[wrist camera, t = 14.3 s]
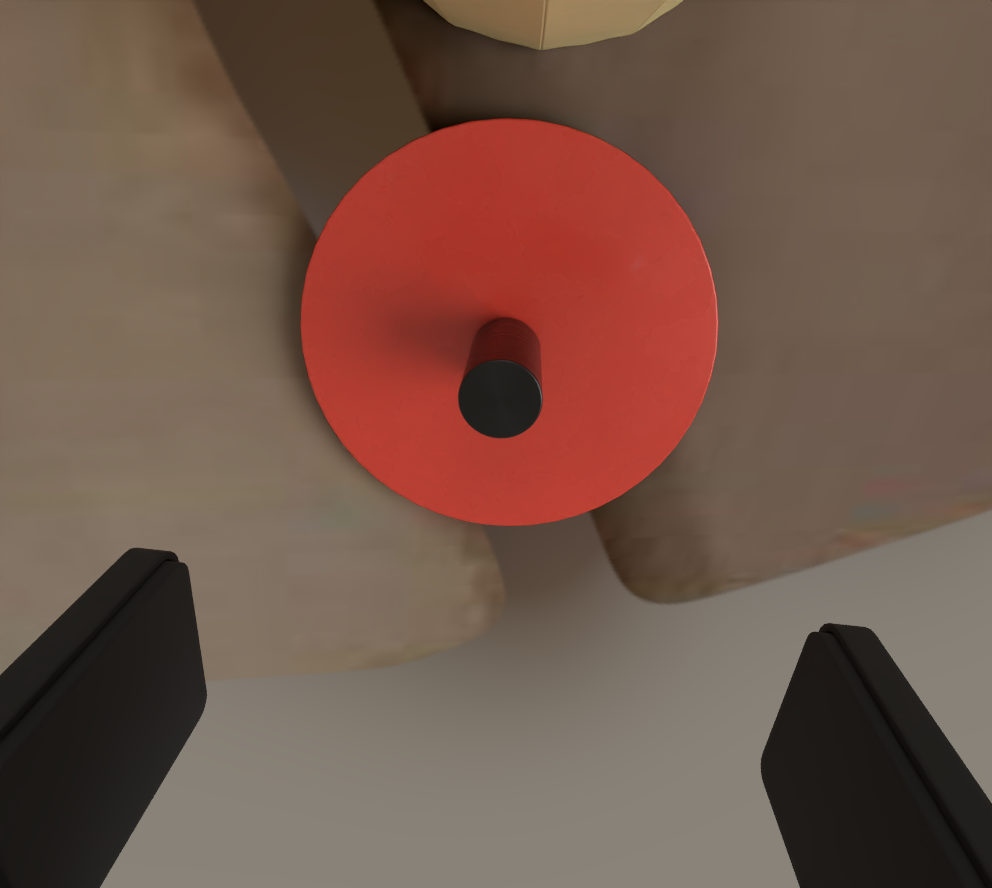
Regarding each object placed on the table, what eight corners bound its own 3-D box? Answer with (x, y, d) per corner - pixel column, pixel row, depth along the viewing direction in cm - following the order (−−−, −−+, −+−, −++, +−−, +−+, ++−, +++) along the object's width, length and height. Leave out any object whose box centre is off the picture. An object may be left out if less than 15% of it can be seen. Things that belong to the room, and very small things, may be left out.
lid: (227, 269, 24) (137, 309, 19) (594, 16, 20) (617, -30, 15) (448, 563, 30) (428, 661, 24) (771, 410, 26) (838, 486, 20)
